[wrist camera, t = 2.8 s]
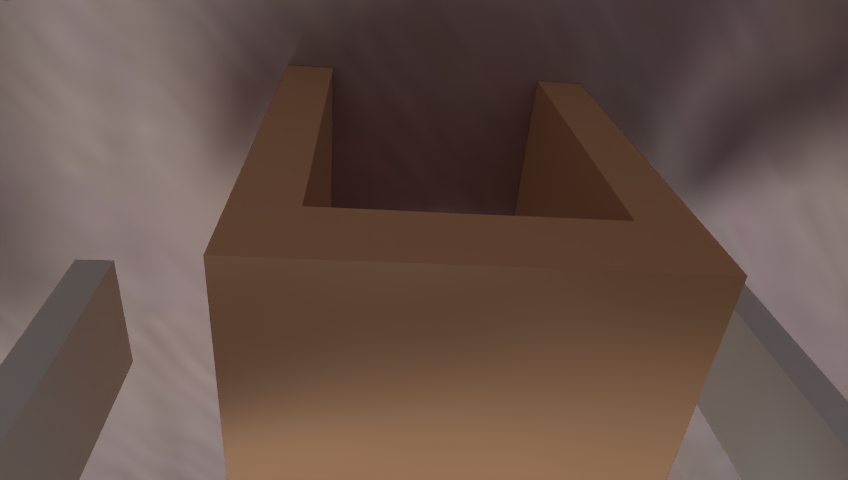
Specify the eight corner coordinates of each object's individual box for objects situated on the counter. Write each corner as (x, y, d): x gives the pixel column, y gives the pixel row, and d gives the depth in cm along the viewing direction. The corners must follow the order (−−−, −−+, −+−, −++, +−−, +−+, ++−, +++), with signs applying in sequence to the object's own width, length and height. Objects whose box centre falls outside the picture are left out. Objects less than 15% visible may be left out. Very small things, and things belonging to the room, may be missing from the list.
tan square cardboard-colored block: (579, 83, 18) (747, 275, 10) (532, 315, 22) (622, 589, 14) (287, 64, 17) (203, 255, 9) (293, 307, 21) (238, 592, 13)
